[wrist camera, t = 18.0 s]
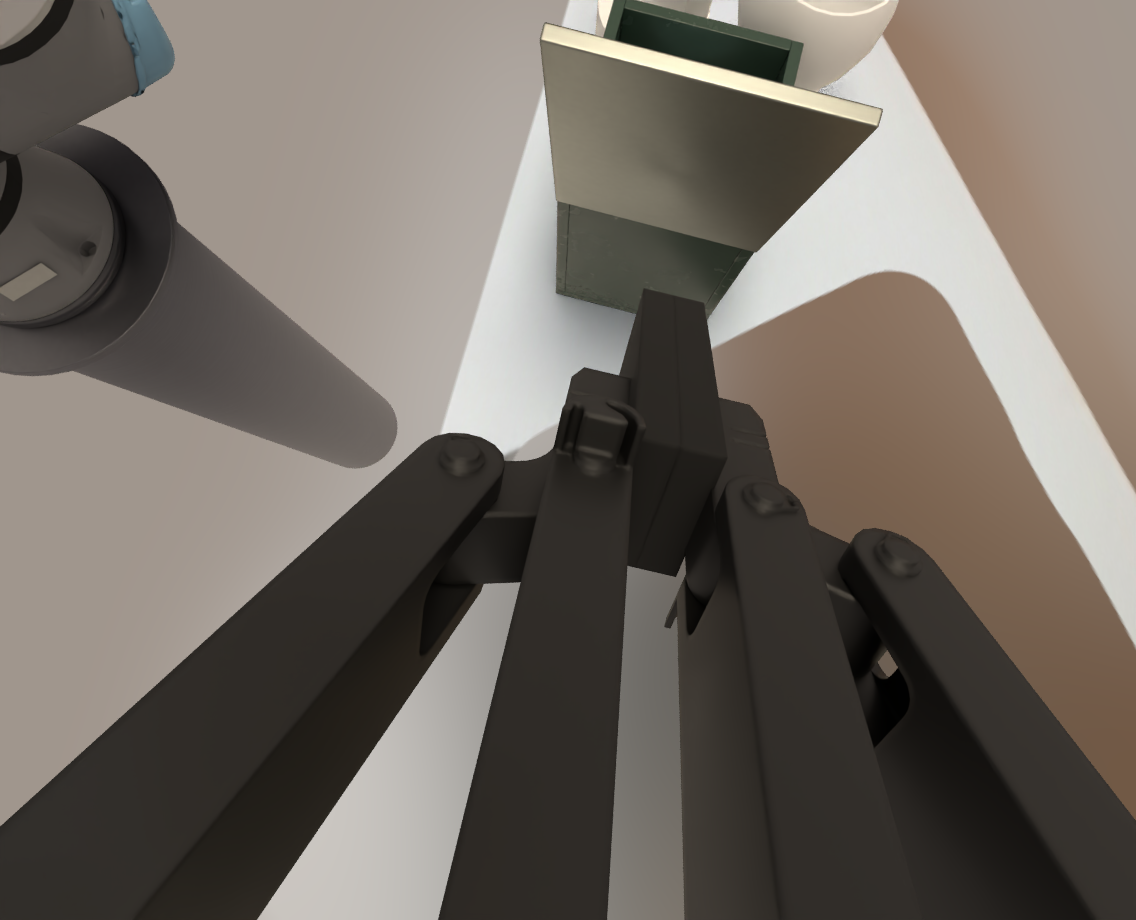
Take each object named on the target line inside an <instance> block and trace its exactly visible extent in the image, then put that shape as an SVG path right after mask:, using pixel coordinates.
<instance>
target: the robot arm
mask: <svg viewBox="0 0 1136 920" xmlns="http://www.w3.org/2000/svg"><path fill="white" fill-rule="evenodd" d="M174 61H175V56H174V50H173V47H172V44H171V42H170V40H169V38H168V36H167V34H166V32H165V31H164V29H163V27H162V25H161V23H160V22H159V20H158V18H157V16H156V15H155V13H154V11H153V10H152V8H151V6H150V5H149V3H148V1H147V0H0V324H1V325H4V326H9V327H16V328H39V327H45V326H49V325H53V324H57V323H60V322H63V321H65V320H67V319H70V318H72V317H74V316H76V315H77V314H79V313H81V312H82V311H84V310H85V309H87V308H88V307H89V306H91V305H92V304H93V303H94V302H95V301H96V300H97V299H98V298H99V297H100V296H101V295H102V294H103V293H104V292H105V291H106V290H107V288H108V287H109V285H110V284H111V283H112V281H113V279H114V278H115V276H116V274H117V272H118V270H119V267H120V265H121V262H122V259H123V255H124V250H125V242H126V232H125V224H124V219H123V215H122V212H121V209H120V207H119V205H118V203H117V201H116V199H115V198H114V196H113V195H112V193H111V192H110V191H109V189H108V188H107V187H106V186H105V185H104V184H103V183H102V182H101V181H99V180H98V179H97V178H96V177H95V176H93V175H92V174H91V173H90V172H88V171H87V170H86V169H84V168H83V167H82V166H80V165H79V164H77V163H75V162H73V161H71V160H70V159H68V158H66V157H64V156H62V155H59V154H57V153H55V152H51V151H48V150H44V149H42V148H39V147H37V146H35V145H37V144H39V143H41V142H42V141H44V140H46V139H48V138H50V137H52V136H54V135H56V134H58V133H60V132H62V131H64V130H66V129H67V128H69V127H71V126H73V125H75V124H77V123H79V122H81V121H83V120H85V119H87V118H89V117H90V116H92V115H94V114H96V113H98V112H100V111H102V110H104V109H106V108H108V107H110V106H112V105H114V104H116V103H117V102H119V101H121V100H123V99H125V98H127V97H129V96H133V97H136V96H139V95H141V94H143V93H144V90H145V88H146V87H148V86H149V85H151V84H153V83H154V82H156V81H157V80H159V79H161V78H162V77H164V76H166V75H167V74H168V73H169V72H170V71H171V70H172V68H173V65H174ZM684 557H685V561H686V575H685V578H684V580H683V582H682V584H681V587H680V589H679V591H678V593H677V596H676V598H675V600H674V602H673V605H672V607H671V609H670V611H669V614H668V616H667V618H666V622H665V627H666V628H671V626H672V624H673V621H674V619H675V618H676V617H677V624H678V665H679V705H680V706H679V707H680V748H681V789H682V831H683V872H684V911H685V912H684V914H685V920H1136V820H1135V819H1134V818H1133V817H1132V815H1131V814H1130V813H1129V811H1128V810H1127V809H1126V808H1125V806H1124V805H1123V804H1122V802H1121V801H1120V800H1119V799H1118V798H1117V796H1116V795H1115V793H1114V792H1113V791H1112V789H1111V788H1110V787H1109V786H1108V784H1107V783H1106V782H1105V780H1104V779H1103V778H1102V777H1101V775H1100V774H1099V773H1098V771H1097V770H1096V769H1095V768H1094V766H1093V765H1092V764H1091V762H1090V761H1089V760H1088V759H1087V757H1086V756H1085V755H1084V753H1083V752H1082V751H1081V750H1080V748H1079V747H1078V746H1077V744H1076V743H1075V742H1074V741H1073V739H1072V738H1071V737H1070V735H1069V734H1068V733H1067V731H1066V730H1065V729H1064V728H1063V726H1062V725H1061V724H1060V722H1059V721H1058V720H1057V719H1056V717H1055V716H1054V715H1053V713H1052V712H1051V711H1050V710H1049V708H1048V707H1047V706H1046V704H1045V703H1044V702H1043V701H1042V699H1041V698H1040V697H1039V695H1038V694H1037V693H1036V692H1035V690H1034V689H1033V688H1032V686H1031V685H1030V684H1029V683H1028V681H1027V680H1026V679H1025V677H1024V676H1023V675H1022V673H1021V672H1020V671H1019V670H1018V668H1017V667H1016V666H1015V664H1014V663H1013V662H1012V661H1011V659H1010V658H1009V657H1008V655H1007V654H1006V653H1005V652H1004V650H1003V649H1002V648H1001V647H1000V645H999V644H998V643H997V641H996V640H995V639H994V638H993V636H992V635H991V634H990V632H989V631H988V630H987V628H986V627H985V626H984V625H983V623H982V622H981V621H980V620H979V618H978V617H977V616H976V614H975V613H974V612H973V610H972V609H971V608H970V607H969V605H968V604H967V603H966V601H965V600H964V599H963V597H962V596H961V595H960V594H959V592H958V591H957V590H956V588H955V587H954V586H953V585H952V583H951V582H950V581H949V579H948V578H947V577H946V576H945V574H944V573H943V572H942V570H941V569H940V568H939V567H938V565H937V564H936V563H935V561H934V560H933V559H932V558H931V557H930V556H929V555H928V554H927V553H926V552H925V551H924V550H923V549H922V548H920V547H919V546H917V545H916V544H914V543H913V542H911V541H910V540H909V539H908V538H906V537H904V536H902V535H901V536H900V535H899V534H897V533H893V532H891V531H886V530H882V529H877V528H872V529H863V530H862V531H860V532H859V533H857V534H856V535H855V536H854V538H853V540H852V541H851V543H850V544H849V543H847V542H845V541H842V540H840V539H838V538H836V537H833V536H831V535H829V534H827V533H825V532H822V531H820V530H819V529H816V528H815V527H813V526H811V525H809V523H808V519H807V516H806V512H805V509H804V508H803V506H802V504H801V502H800V500H799V499H798V498H797V497H796V496H795V495H794V494H793V493H792V492H791V491H790V490H788V489H787V488H785V487H784V486H782V485H780V484H779V483H778V479H777V475H776V471H775V467H774V463H773V459H772V456H771V451H770V450H769V443H768V439H767V438H766V431H765V428H764V423H763V420H762V419H761V418H760V416H759V415H758V414H757V413H756V412H755V411H754V409H753V408H752V407H751V406H750V405H748V404H744V403H739V402H735V401H731V400H727V399H723V398H719V397H718V390H717V384H716V377H715V370H714V364H713V357H712V351H711V344H710V338H709V331H708V325H707V318H706V312H705V305H704V303H703V302H699V301H695V300H691V299H687V298H683V297H678V296H674V295H670V294H666V293H662V292H658V291H653V290H649V289H645V288H644V289H643V292H642V296H641V299H640V303H639V307H638V310H637V314H636V317H635V321H634V324H633V328H632V331H631V335H630V339H629V342H628V346H627V349H626V353H625V356H624V360H623V363H622V367H621V371H620V374H619V376H618V375H614V374H610V373H606V372H602V371H597V370H593V369H589V368H585V367H584V368H583V369H582V370H580V371H579V372H578V373H576V374H575V375H574V376H572V378H571V382H570V386H569V390H568V394H567V398H566V403H565V405H564V407H563V409H562V413H561V418H560V422H559V426H558V431H557V435H556V440H555V444H554V447H553V449H552V450H551V451H550V452H548V453H547V454H546V455H544V456H542V457H539V458H537V459H533V460H528V461H504V457H503V454H502V453H501V452H500V450H499V449H498V448H497V447H496V446H495V445H494V444H492V443H490V442H489V441H487V440H485V439H483V438H481V437H477V436H473V435H470V434H464V433H448V434H443V435H438V436H434V437H433V438H431V439H429V440H427V441H426V442H424V443H423V444H422V445H421V446H420V447H418V448H417V449H416V450H415V451H414V452H413V453H412V454H411V455H409V456H408V457H407V458H406V459H405V460H404V461H403V462H402V463H401V464H400V465H398V466H397V467H396V468H395V469H394V470H393V471H392V472H391V473H390V474H388V476H386V477H385V478H384V479H383V480H382V481H381V482H380V483H379V484H378V485H376V486H375V487H374V488H373V489H372V490H371V491H370V492H369V493H368V494H366V496H364V497H363V498H362V499H361V500H360V501H359V502H358V503H357V504H355V505H354V506H353V507H352V508H351V509H350V510H349V511H348V512H347V513H346V514H344V515H343V516H342V517H341V518H340V519H339V520H338V521H337V522H336V523H334V524H333V525H332V526H331V527H330V528H329V529H328V530H327V531H326V532H325V533H323V535H321V536H320V537H319V538H318V539H317V540H316V541H315V542H314V543H312V544H311V545H310V546H309V547H308V548H307V549H306V550H305V551H304V552H302V553H301V554H300V555H299V556H298V557H297V558H296V559H295V560H294V561H293V562H292V563H290V564H289V565H288V566H287V567H286V568H285V569H284V570H283V571H282V572H280V573H279V574H278V575H277V576H276V577H275V578H274V579H273V580H272V581H270V582H269V583H268V584H267V585H266V586H265V587H264V588H263V589H262V590H261V591H259V592H258V593H257V594H256V595H255V596H254V597H253V598H252V599H251V600H250V601H249V602H247V603H246V604H245V605H244V606H243V607H242V608H241V609H240V610H238V611H237V612H236V613H235V614H234V615H233V616H232V617H231V618H230V619H229V620H227V621H226V622H225V623H224V624H223V625H222V626H221V627H220V628H219V629H218V630H216V631H215V632H214V633H213V634H212V635H211V636H210V637H209V638H208V639H207V640H205V641H204V642H203V643H202V644H201V645H200V646H199V647H198V648H197V649H196V650H194V651H193V652H192V653H191V654H190V655H189V656H188V657H187V658H186V659H184V660H183V661H182V662H181V663H180V664H179V665H178V666H177V667H176V668H175V669H173V670H172V671H171V672H170V673H169V674H168V675H167V676H166V677H165V678H164V679H162V680H161V681H160V682H159V683H158V684H157V685H156V686H155V687H154V688H153V689H151V690H150V691H149V692H148V693H147V694H146V695H145V696H144V697H143V698H141V700H139V701H138V702H137V703H136V704H135V705H134V706H133V707H132V708H131V709H129V710H128V711H127V712H126V713H125V714H124V715H123V716H122V717H121V718H119V719H118V720H117V721H116V722H115V723H114V724H113V725H112V726H111V727H109V728H108V729H107V730H106V731H105V732H104V733H103V734H102V735H101V736H100V737H98V738H97V739H96V740H95V741H94V742H93V743H92V744H91V745H90V746H89V747H87V748H86V749H85V750H84V751H83V752H82V753H81V754H80V755H79V756H77V757H76V758H75V759H74V760H73V761H72V762H71V763H70V764H69V765H68V766H66V767H65V768H64V769H63V770H62V771H61V772H60V773H59V774H58V775H57V776H55V777H54V778H53V779H52V780H51V781H50V782H49V783H48V784H47V785H46V786H44V787H43V788H42V789H41V790H40V791H39V792H38V793H37V794H36V795H35V796H33V797H32V798H31V799H30V800H29V801H28V802H27V803H26V804H25V805H23V807H21V808H20V809H19V810H18V811H17V812H16V813H15V814H14V815H13V816H12V817H10V818H9V819H8V820H7V821H6V822H5V823H4V824H3V825H1V826H0V920H257V919H258V917H259V916H260V914H261V913H262V911H263V910H264V908H265V907H266V905H267V904H268V902H269V901H270V900H271V898H272V896H273V895H274V894H275V892H276V891H277V889H278V888H279V886H280V885H281V884H282V882H283V881H284V879H285V878H286V876H287V875H288V873H289V872H290V870H291V869H292V867H293V866H294V864H295V863H296V862H297V860H298V859H299V857H300V856H301V854H302V853H303V851H304V850H305V848H306V847H307V845H308V844H309V842H310V841H311V840H312V838H313V837H314V835H315V834H316V832H317V831H318V829H319V828H320V826H321V825H322V823H323V822H324V821H325V819H326V818H327V816H328V815H329V813H330V812H331V810H332V809H333V807H334V806H335V804H336V803H337V802H338V800H339V799H340V797H341V796H342V794H343V793H344V791H345V790H346V788H347V787H348V785H349V784H350V782H351V781H352V780H353V778H354V777H355V775H356V774H357V772H358V771H359V769H360V768H361V766H362V765H363V763H364V762H365V761H366V759H367V758H368V756H369V755H370V753H371V752H372V750H373V749H374V747H375V746H376V744H377V743H378V741H379V740H380V739H381V737H382V736H383V734H384V733H385V731H386V730H387V728H388V727H389V725H390V724H391V722H392V721H393V720H394V718H395V716H396V715H397V714H398V712H399V711H400V709H401V708H402V706H403V705H404V703H405V702H406V700H407V699H408V698H409V696H410V695H411V693H412V692H413V690H414V689H415V687H416V686H417V684H418V683H419V681H420V680H421V679H422V677H423V675H424V674H425V673H426V671H427V670H428V668H429V667H430V665H431V664H432V662H433V661H434V659H435V658H436V657H437V655H438V654H439V652H440V651H441V649H442V648H443V646H444V645H445V643H446V642H447V640H448V639H449V638H450V636H451V635H452V633H453V632H454V630H455V628H456V627H457V626H458V624H459V623H460V621H461V620H462V618H463V617H464V616H465V614H466V613H467V611H468V610H469V608H470V607H471V605H472V604H473V602H474V601H475V599H476V598H477V596H478V595H479V594H480V592H481V590H482V587H483V584H486V583H487V584H488V583H514V582H521V583H520V588H519V591H518V596H517V600H516V604H515V608H514V612H513V616H512V620H511V624H510V628H509V633H508V636H507V640H506V645H505V649H504V653H503V657H502V661H501V665H500V669H499V673H498V677H497V681H496V686H495V690H494V694H493V698H492V702H491V706H490V710H489V714H488V718H487V722H486V726H485V731H484V734H483V739H482V743H481V747H480V751H479V755H478V759H477V764H476V767H475V771H474V775H473V779H472V783H471V788H470V792H469V796H468V800H467V804H466V808H465V812H464V816H463V820H462V824H461V828H460V833H459V837H458V841H457V845H456V849H455V853H454V857H453V861H452V865H451V869H450V873H449V877H448V881H447V886H446V890H445V894H444V898H443V902H442V906H441V910H440V914H439V918H438V920H607V911H608V910H607V909H608V893H609V876H610V875H609V874H610V858H611V841H612V824H613V806H614V789H615V788H614V787H615V771H616V754H617V753H616V752H617V736H618V719H619V701H620V684H621V683H620V682H621V666H622V649H623V632H624V614H625V596H626V580H627V566H631V567H635V568H640V569H644V570H648V571H652V572H657V573H661V574H665V575H670V576H674V577H676V575H677V573H678V571H679V569H680V566H681V564H682V562H683V559H684ZM887 650H888V652H889V653H890V655H891V657H892V658H893V660H894V661H895V663H896V665H897V666H898V669H897V670H896V671H895V672H894V673H893V674H892V675H891V676H890V677H888V676H886V674H885V673H884V672H883V671H882V669H881V668H880V666H879V664H878V661H879V660H880V658H881V657H882V656H883V655H884V653H885V652H886V651H887Z"/></svg>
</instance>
